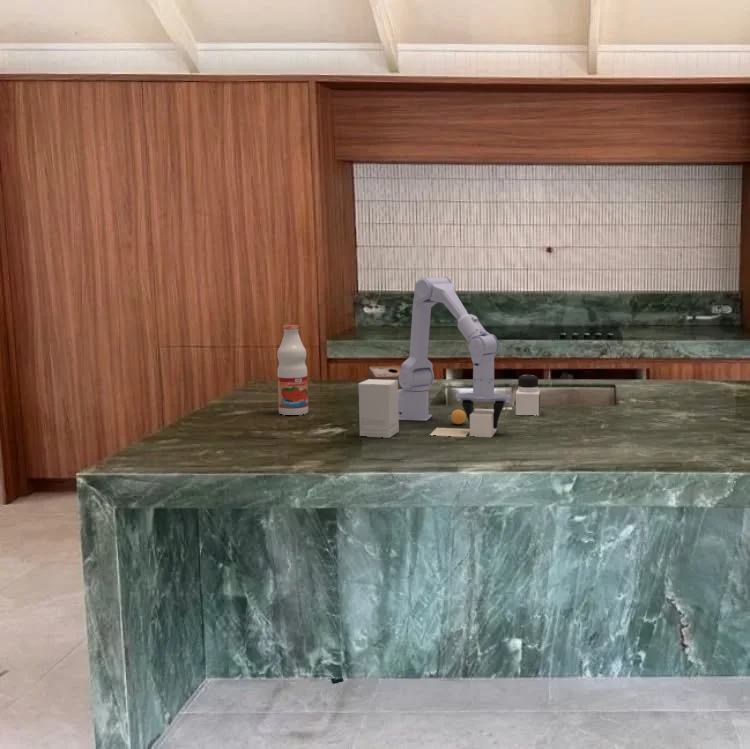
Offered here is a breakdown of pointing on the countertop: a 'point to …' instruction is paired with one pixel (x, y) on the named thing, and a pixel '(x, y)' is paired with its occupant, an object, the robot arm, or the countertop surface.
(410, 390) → the robot arm
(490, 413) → the white rectangular prism
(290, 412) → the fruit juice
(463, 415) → the ball
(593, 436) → the countertop surface
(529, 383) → the medicine bottle
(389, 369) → the tissue box cover
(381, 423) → the supplement box
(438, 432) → the mark
